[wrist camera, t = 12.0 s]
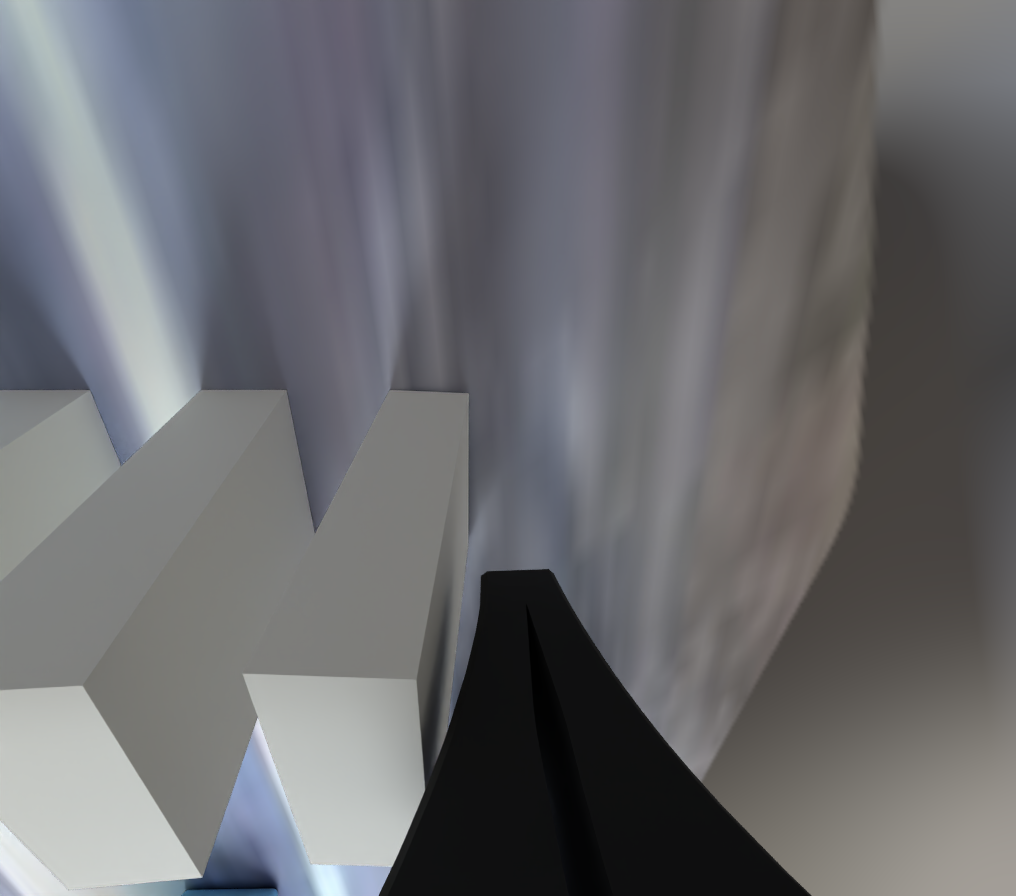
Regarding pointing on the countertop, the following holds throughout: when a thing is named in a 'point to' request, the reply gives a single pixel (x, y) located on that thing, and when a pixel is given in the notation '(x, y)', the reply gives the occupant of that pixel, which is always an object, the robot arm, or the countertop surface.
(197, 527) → the tile
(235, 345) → the countertop surface
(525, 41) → the countertop surface
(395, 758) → the tile
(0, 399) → the tile
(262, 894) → the teal box
